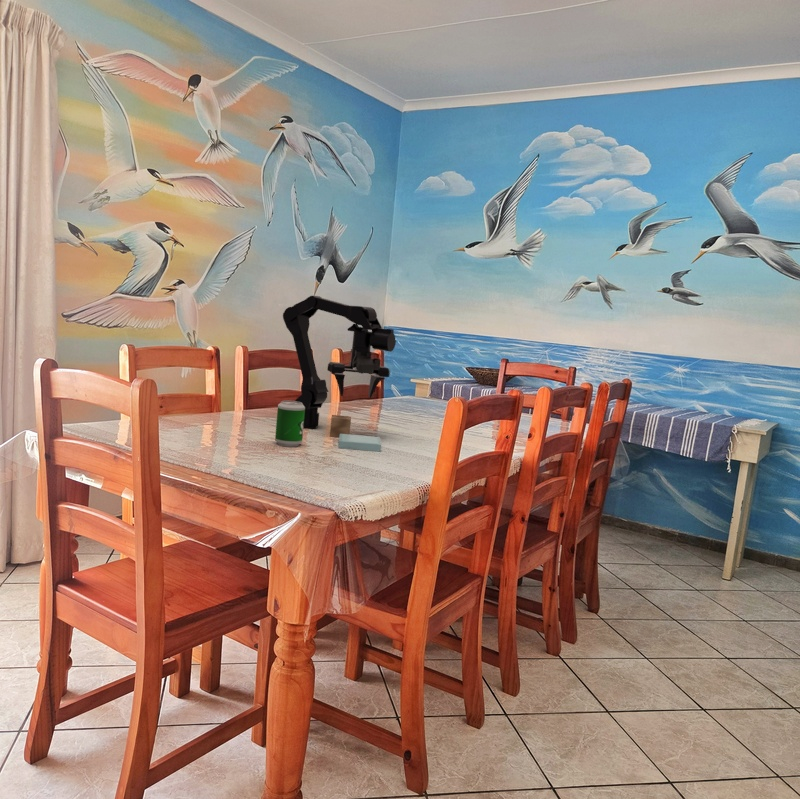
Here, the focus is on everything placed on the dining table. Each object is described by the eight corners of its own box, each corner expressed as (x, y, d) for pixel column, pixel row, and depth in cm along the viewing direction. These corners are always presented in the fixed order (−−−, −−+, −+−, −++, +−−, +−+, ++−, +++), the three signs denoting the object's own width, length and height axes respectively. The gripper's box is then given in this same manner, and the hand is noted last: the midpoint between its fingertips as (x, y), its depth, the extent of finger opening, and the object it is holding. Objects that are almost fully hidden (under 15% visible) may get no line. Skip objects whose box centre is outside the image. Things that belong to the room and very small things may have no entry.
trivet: (338, 448, 197) (338, 440, 196) (339, 440, 208) (339, 433, 208) (380, 451, 197) (381, 444, 197) (378, 443, 209) (379, 436, 209)
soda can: (296, 448, 190) (300, 405, 189) (270, 444, 191) (274, 402, 190) (305, 444, 197) (309, 402, 196) (280, 440, 199) (283, 399, 197)
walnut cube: (329, 437, 212) (331, 417, 211) (330, 433, 218) (331, 414, 217) (349, 438, 213) (351, 419, 212) (349, 435, 219) (351, 416, 218)
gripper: (339, 347, 204) (333, 399, 206) (398, 352, 211) (392, 403, 213) (329, 343, 214) (324, 393, 216) (386, 349, 221) (380, 397, 223)
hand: (355, 396), depth 217 cm, fingers open, 9 cm apart
